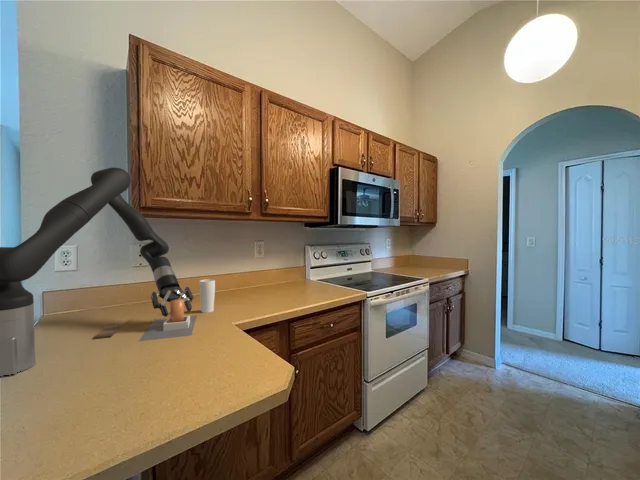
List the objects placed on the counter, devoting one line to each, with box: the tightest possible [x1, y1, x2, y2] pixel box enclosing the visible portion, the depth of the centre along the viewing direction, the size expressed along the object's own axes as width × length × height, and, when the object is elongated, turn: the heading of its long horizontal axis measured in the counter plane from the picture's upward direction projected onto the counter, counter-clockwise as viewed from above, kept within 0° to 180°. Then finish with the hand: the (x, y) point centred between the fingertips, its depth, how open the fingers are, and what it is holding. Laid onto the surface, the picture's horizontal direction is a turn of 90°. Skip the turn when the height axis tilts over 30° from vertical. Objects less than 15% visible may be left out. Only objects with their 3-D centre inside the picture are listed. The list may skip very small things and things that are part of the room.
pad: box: [93, 322, 126, 340], centre depth 106 cm, size 14×14×1 cm
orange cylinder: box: [169, 299, 185, 323], centre depth 107 cm, size 5×5×10 cm
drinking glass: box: [198, 278, 216, 314], centre depth 128 cm, size 7×7×15 cm
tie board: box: [138, 315, 197, 342], centre depth 107 cm, size 24×16×4 cm, turn 20°
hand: (178, 313), depth 107 cm, fingers open, 8 cm apart
